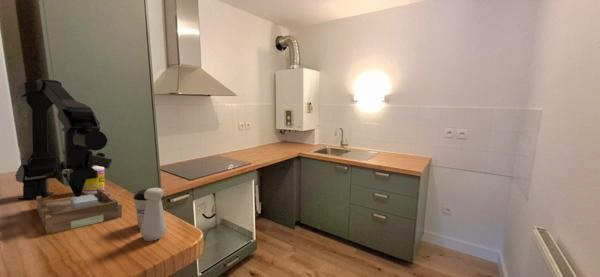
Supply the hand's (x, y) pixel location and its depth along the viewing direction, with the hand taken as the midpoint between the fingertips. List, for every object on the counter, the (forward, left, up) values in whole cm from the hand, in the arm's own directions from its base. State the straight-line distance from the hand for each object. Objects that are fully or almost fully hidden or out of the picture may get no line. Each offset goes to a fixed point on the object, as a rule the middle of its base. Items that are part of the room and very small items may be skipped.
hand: (77, 196), depth 77 cm
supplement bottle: (-21, -6, -5) cm, 23 cm away
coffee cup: (+12, +24, -5) cm, 27 cm away
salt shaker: (+20, +28, -5) cm, 34 cm away
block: (+7, +5, -3) cm, 9 cm away
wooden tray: (+1, +1, -5) cm, 5 cm away
